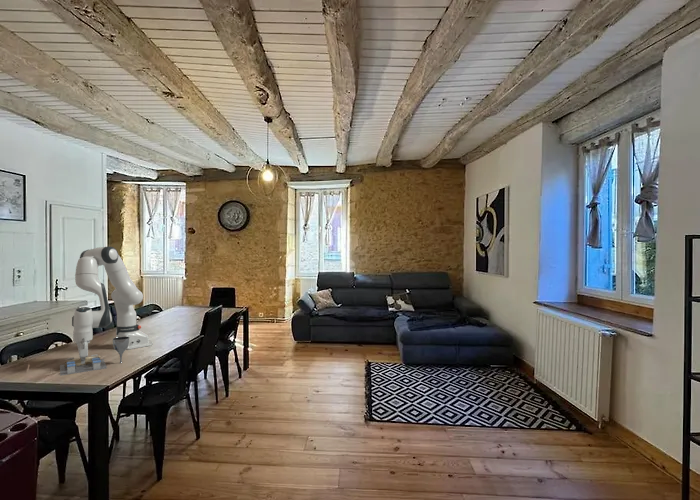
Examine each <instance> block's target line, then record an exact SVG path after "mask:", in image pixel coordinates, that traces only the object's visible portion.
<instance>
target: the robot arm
mask: <svg viewBox="0 0 700 500" xmlns="http://www.w3.org/2000/svg"><path fill="white" fill-rule="evenodd" d="M101 266H104V270H105V272H106V276H107V278H108V279H109V280H108V281H110V284H111V285H112V286H113V287H114V290H113V291H112V292H111V294H110V297H111V298H110V299H112V302H113V303H114V307H115V312H116V327H115V335H116V336H115V338H116V337H124V336H126V337H129V345H128V348H127V349H126V350H133V349H139V348H144V347H148V346H149V347H150V346H153V345H154V344H153V343H154V342H153V341H152V340H150V337H149V335H148V334H147V333H146V332H143V330H141V329H142V325H139V324H137V311H136V310H135V308H134V306H136V305H139V304H140V303H142V302H143V300H144V294H143V292H142V291H141V290H140V289H139V288H138V287H137V285H136V284H135V283H134V282H133V280H132V279H131V277H130V274H129V272H128V270H127V267H126V265H125V263H124V261H123V259H122V258H121V256H120V255H119V252H118V250H117V249H116V248H115V247H114V246H100V247H95V248H91V249H86V250H84V251H82V252H81V253H80V255H79V259H78V261H77V263H76V267H75V275H74V276H75V278H74V279H75V281H74V282H75V285H76V286H77V287H78V288H79V289H80V290H83V291H85V292H90V293H93V294H95V295H97V296H98V298H99V304H100V309H99V310H92V308H91V307H87V306H81V307H77V308H75V310H74V315H72V317H71V326H72V327H73V333H72V336H73V337H72V342H73V343H74V342H75V344H76V346H77V349H78V350H77V351H78V356H79V358H81V364H85V358H87V357H89V344H90V343H91V341H92V340H94V337H93V336H94V335H93V334H94V333H93V332H94V331H93V329H97V328H100V329H101V328H104V329H105V328H107V327H109V326H110V325H111V324H112V321H113V316H112V313H111V311H110V306H109V301H108V300H109V299H108V296H107V295H108V294H107V291H106V286H105V284H104V283H103V282H101V281H100V279H99V267H101Z"/></svg>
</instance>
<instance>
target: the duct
mask: <svg viewBox="0 0 700 500" xmlns="http://www.w3.org/2000/svg"><path fill="white" fill-rule="evenodd" d="M94 356H99V355H98V353H97V354H96V353H95V354H91V356H90V357H92V363H91V364H85V365H78V366H75V361H74V360H72V359H75V358H74V357H68V358H66V360H70V361H67V367H65V363H64V364H60V365H59V376H62V377H63V376H68V375H72V374H73V375H74V374H79V373H80V374H81V373H85V372H86V373H87V372H93V371H99V370H105V369H108V367H107V364H106V362H105V359H104V358H101V357H100V358H99V357H94Z"/></svg>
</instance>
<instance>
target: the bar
mask: <svg viewBox="0 0 700 500" xmlns="http://www.w3.org/2000/svg"><path fill="white" fill-rule="evenodd" d="M94 357H99V358H100V359H101V355H98V356H94ZM72 360H74V361H75V366H78V365H85V364H91V363H92V357H91V356H88V357H86V358H85V364H81V358H80V357H79V358H74V359H72ZM67 361H70V360H67V359H66V360H64V364H65V367H67Z"/></svg>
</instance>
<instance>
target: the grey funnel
mask: <svg viewBox="0 0 700 500" xmlns="http://www.w3.org/2000/svg"><path fill="white" fill-rule="evenodd" d="M128 345H129V337H126V336H124V337H116V336H115V337H113V338H112V346H113V350H115V351H116V353H118V354H119V364H123V362H122V361H123V355H124V353H125V352H126V350H128V349H127V348H128Z"/></svg>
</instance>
